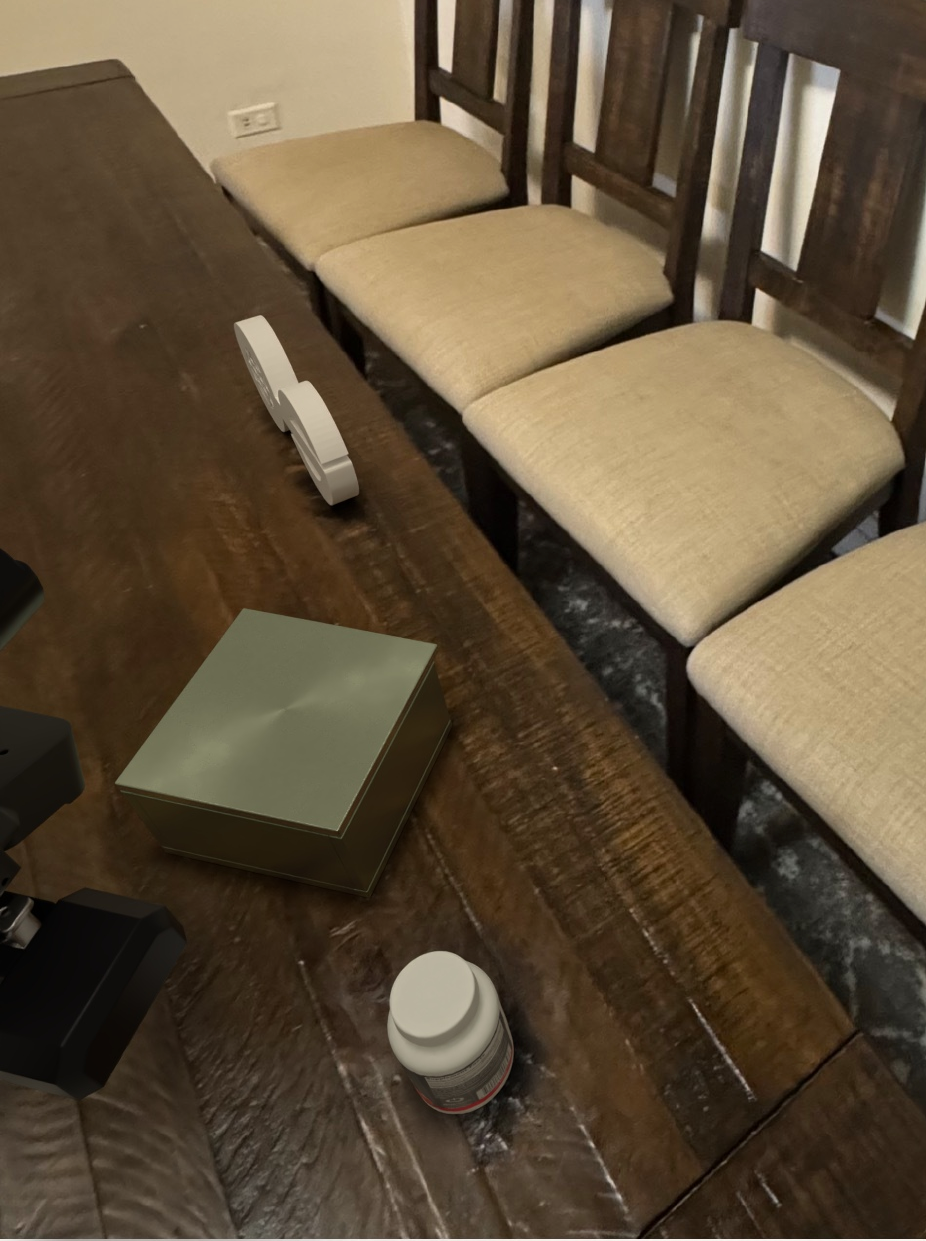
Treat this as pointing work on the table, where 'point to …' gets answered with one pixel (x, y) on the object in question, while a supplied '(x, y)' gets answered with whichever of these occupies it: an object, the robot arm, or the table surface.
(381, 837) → the bin
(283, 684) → the bin lid
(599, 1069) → the table surface
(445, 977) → the pill bottle
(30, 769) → the robot arm
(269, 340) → the letter
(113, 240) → the table surface
